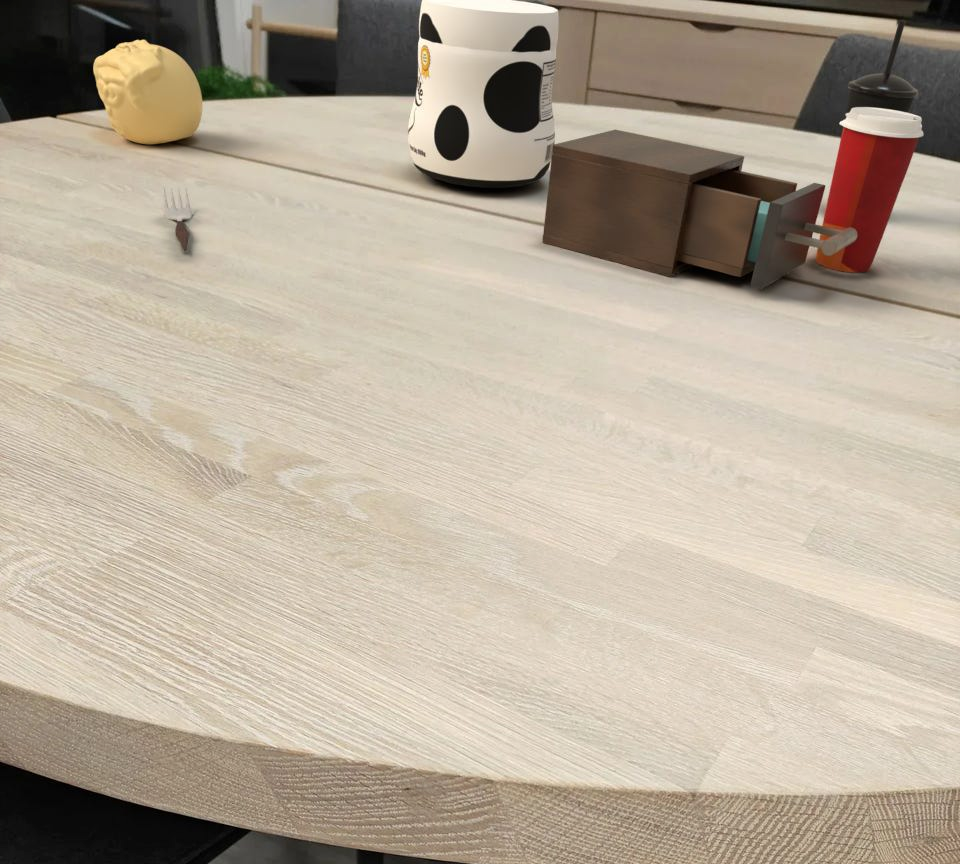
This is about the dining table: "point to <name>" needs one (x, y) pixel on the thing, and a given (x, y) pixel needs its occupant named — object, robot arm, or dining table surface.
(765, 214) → the teal cube
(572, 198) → the cabinet
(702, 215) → the drawer
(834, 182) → the paper cup
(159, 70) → the sculpture
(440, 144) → the milk container
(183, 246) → the fork
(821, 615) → the dining table surface
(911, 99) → the drinking cup
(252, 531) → the dining table surface
